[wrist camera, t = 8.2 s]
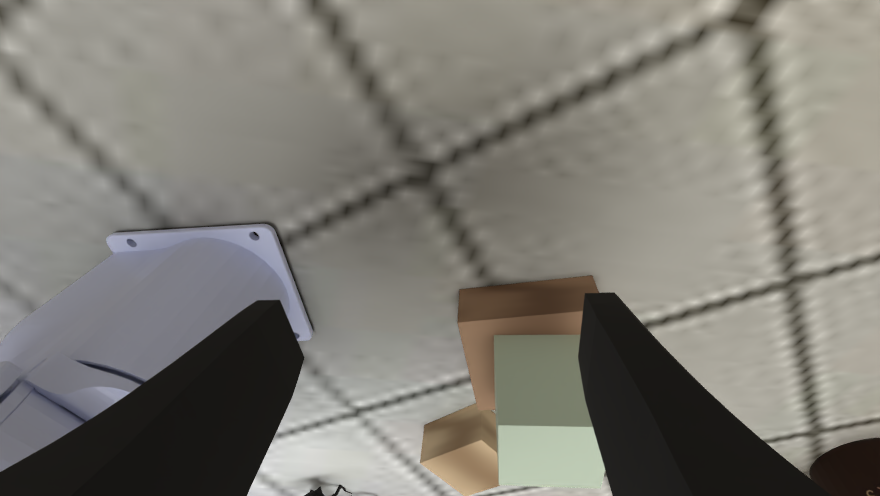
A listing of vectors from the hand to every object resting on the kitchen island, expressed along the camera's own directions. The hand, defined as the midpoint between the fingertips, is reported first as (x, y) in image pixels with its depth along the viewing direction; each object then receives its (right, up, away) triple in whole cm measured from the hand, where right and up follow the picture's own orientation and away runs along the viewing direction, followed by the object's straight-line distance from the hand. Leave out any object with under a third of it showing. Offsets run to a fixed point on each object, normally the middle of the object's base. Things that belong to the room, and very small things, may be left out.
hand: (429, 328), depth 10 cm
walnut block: (+5, -3, +14) cm, 15 cm away
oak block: (+3, -11, +20) cm, 23 cm away
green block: (+5, -4, +12) cm, 13 cm away
